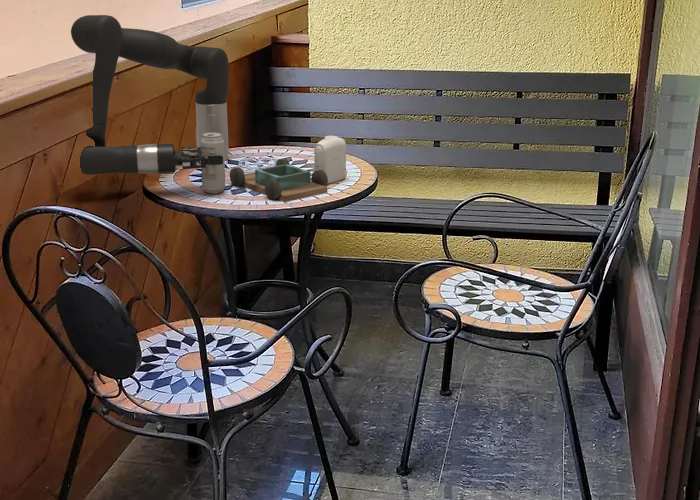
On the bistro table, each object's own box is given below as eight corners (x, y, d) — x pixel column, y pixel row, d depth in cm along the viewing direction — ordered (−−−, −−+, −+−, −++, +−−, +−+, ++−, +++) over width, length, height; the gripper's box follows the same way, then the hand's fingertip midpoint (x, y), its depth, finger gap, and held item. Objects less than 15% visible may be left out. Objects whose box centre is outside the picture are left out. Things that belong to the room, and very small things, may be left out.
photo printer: (323, 186, 220) (324, 141, 216) (312, 183, 223) (312, 139, 219) (347, 179, 228) (348, 135, 224) (336, 176, 230) (336, 133, 226)
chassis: (226, 183, 222) (226, 165, 220) (276, 173, 232) (276, 156, 231) (280, 203, 205) (279, 184, 203) (331, 191, 216) (331, 173, 214)
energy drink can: (230, 190, 214) (228, 134, 208) (211, 195, 209) (209, 138, 204) (215, 186, 217) (214, 130, 212) (197, 190, 213) (195, 134, 208)
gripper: (154, 150, 200) (223, 149, 203) (155, 138, 213) (220, 136, 216) (156, 180, 202) (224, 178, 206) (157, 165, 215) (221, 163, 219)
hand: (222, 156), depth 211 cm, fingers closed on energy drink can, 6 cm apart
